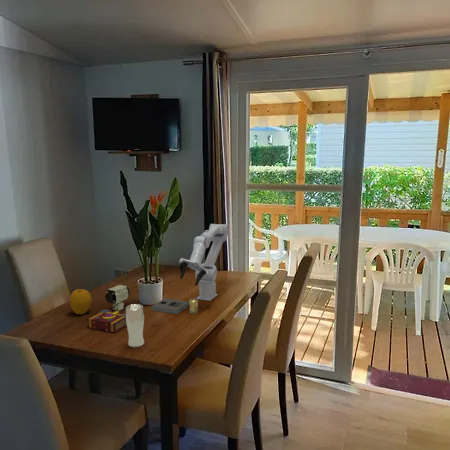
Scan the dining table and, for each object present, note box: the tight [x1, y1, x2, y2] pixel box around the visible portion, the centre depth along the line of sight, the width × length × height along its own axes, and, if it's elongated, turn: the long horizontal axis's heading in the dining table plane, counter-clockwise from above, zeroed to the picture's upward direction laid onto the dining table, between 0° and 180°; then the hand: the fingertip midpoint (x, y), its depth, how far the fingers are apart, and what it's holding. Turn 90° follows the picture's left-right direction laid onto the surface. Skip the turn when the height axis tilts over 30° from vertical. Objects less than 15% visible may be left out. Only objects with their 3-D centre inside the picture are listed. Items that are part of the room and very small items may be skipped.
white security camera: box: [104, 284, 131, 312], centre depth 190 cm, size 6×12×12 cm, turn 149°
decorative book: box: [86, 309, 127, 334], centre depth 173 cm, size 11×16×5 cm
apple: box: [69, 288, 93, 315], centre depth 186 cm, size 10×10×12 cm
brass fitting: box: [188, 298, 199, 315], centre depth 186 cm, size 4×4×6 cm
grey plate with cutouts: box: [151, 297, 189, 315], centre depth 192 cm, size 12×14×2 cm
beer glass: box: [125, 303, 145, 348], centre depth 154 cm, size 7×7×15 cm
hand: (188, 281), depth 183 cm, fingers open, 7 cm apart
